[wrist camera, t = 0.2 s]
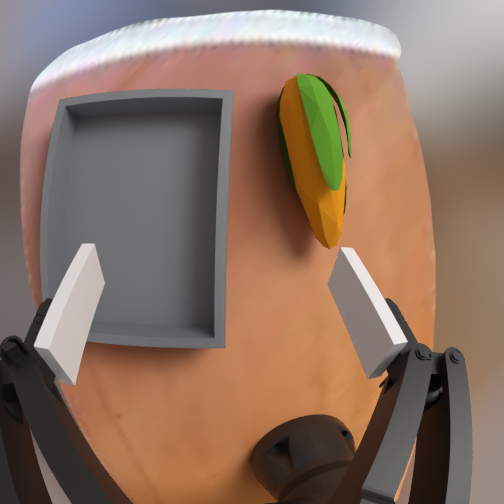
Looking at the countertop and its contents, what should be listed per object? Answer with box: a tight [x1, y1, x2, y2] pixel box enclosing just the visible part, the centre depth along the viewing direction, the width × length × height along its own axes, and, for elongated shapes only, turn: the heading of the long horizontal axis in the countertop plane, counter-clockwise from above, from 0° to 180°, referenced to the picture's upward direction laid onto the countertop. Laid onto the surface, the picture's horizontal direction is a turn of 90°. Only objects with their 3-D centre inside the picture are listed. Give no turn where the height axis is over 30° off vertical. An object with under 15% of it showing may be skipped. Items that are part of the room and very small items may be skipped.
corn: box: [277, 74, 351, 249], centre depth 28 cm, size 7×8×20 cm
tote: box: [40, 89, 234, 348], centre depth 26 cm, size 25×19×5 cm
